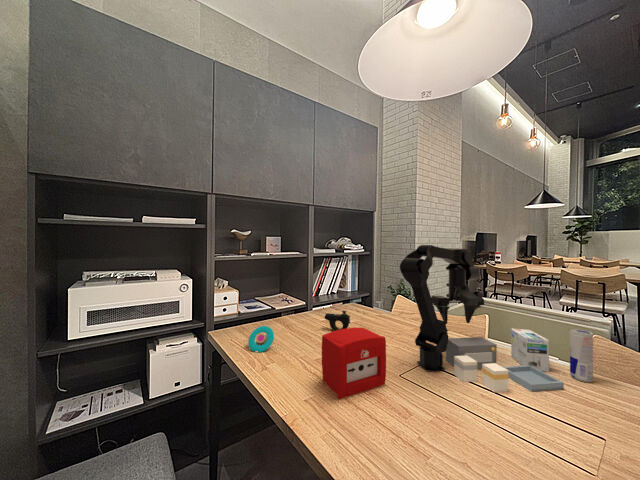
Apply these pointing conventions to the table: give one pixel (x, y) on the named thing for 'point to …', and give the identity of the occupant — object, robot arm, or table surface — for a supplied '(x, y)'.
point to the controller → (338, 317)
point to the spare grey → (465, 368)
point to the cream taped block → (495, 377)
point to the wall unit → (472, 350)
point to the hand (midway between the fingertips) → (456, 323)
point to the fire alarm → (353, 361)
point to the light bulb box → (530, 349)
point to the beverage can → (581, 355)
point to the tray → (533, 378)
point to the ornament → (261, 339)
